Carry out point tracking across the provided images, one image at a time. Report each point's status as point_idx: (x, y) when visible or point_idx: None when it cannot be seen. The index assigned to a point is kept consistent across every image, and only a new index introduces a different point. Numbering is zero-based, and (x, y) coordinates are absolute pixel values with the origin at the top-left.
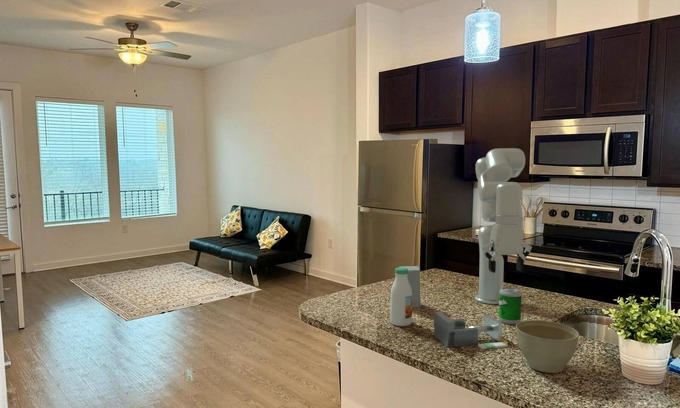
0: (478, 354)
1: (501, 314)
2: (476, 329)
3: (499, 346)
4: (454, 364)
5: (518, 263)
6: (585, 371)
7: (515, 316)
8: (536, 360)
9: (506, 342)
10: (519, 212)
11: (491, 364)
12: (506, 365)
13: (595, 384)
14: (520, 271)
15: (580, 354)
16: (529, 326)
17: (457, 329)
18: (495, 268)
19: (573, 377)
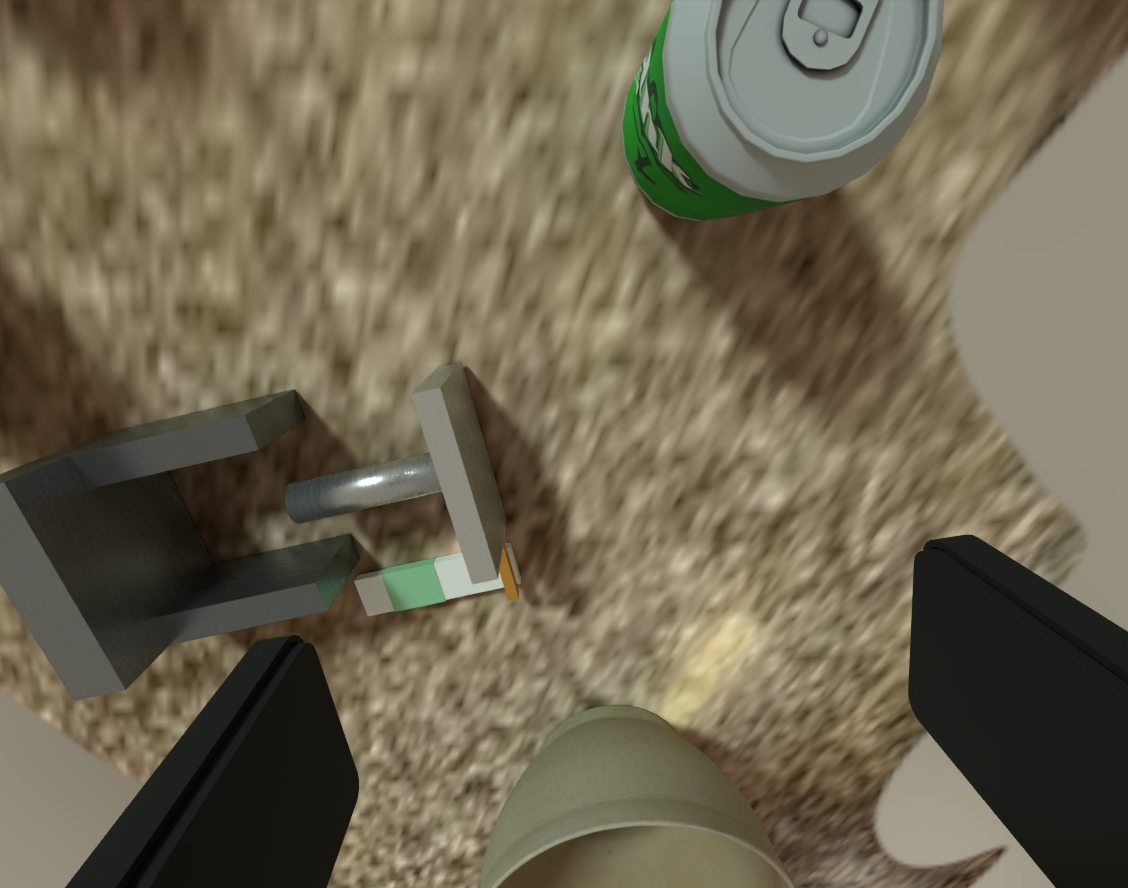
0: (342, 664)
1: (632, 156)
2: (316, 611)
3: (471, 591)
4: None
5: (1046, 750)
6: (754, 791)
7: (729, 215)
8: (544, 871)
9: (509, 597)
10: None
11: (383, 751)
12: (447, 757)
13: None
14: (917, 676)
15: (844, 651)
16: (599, 801)
17: (189, 615)
18: (328, 872)
19: None
